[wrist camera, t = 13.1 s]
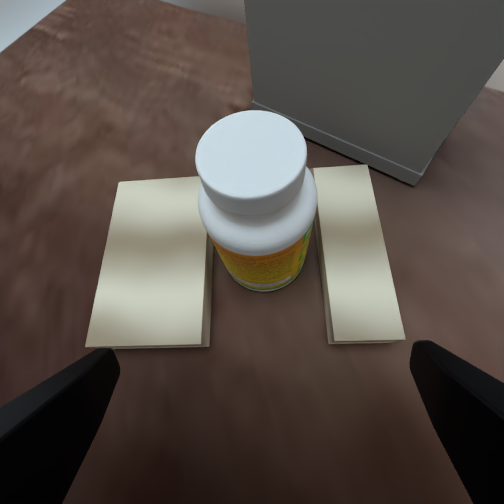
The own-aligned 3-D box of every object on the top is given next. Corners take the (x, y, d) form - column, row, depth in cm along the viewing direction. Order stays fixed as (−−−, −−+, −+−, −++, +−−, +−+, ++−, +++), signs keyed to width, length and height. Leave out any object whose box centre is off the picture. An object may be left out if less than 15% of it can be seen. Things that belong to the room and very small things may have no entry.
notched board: (390, 342, 16) (405, 339, 14) (105, 349, 17) (85, 346, 15) (359, 183, 20) (367, 164, 18) (132, 197, 21) (119, 182, 20)
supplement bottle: (311, 288, 17) (345, 206, 9) (227, 297, 18) (173, 227, 9) (298, 214, 20) (314, 85, 11) (222, 223, 20) (176, 105, 11)
